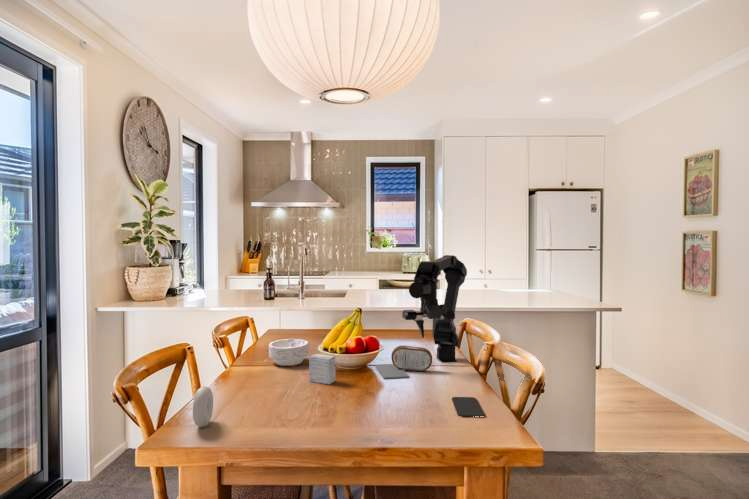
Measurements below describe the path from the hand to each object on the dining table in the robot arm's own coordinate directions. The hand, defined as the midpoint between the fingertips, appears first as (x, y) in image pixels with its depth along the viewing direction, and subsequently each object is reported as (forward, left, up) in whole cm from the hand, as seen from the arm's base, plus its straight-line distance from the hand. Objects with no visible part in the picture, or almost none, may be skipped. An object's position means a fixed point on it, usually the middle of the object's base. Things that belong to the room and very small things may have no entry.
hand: (428, 337), depth 169 cm
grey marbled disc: (+72, +38, -12) cm, 83 cm away
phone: (0, +37, -13) cm, 40 cm away
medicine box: (+39, +7, -12) cm, 42 cm away
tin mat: (+14, 0, -12) cm, 18 cm away
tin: (+7, 0, -12) cm, 13 cm away
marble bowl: (+50, -18, -12) cm, 55 cm away
